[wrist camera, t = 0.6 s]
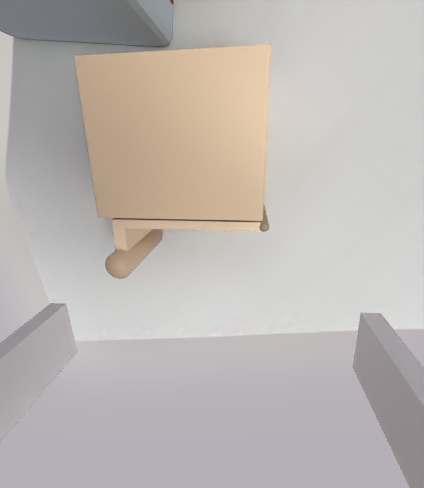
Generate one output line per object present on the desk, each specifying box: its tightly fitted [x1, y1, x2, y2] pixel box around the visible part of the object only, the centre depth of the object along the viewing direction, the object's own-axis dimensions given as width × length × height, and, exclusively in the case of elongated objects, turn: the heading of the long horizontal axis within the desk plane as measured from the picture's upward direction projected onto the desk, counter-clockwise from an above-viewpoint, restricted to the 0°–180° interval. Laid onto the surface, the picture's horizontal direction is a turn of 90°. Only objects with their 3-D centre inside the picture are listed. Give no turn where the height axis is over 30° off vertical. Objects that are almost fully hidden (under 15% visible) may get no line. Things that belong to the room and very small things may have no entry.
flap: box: [105, 205, 269, 279], centre depth 30 cm, size 6×15×10 cm, turn 91°
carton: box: [74, 44, 271, 221], centre depth 27 cm, size 12×14×12 cm
